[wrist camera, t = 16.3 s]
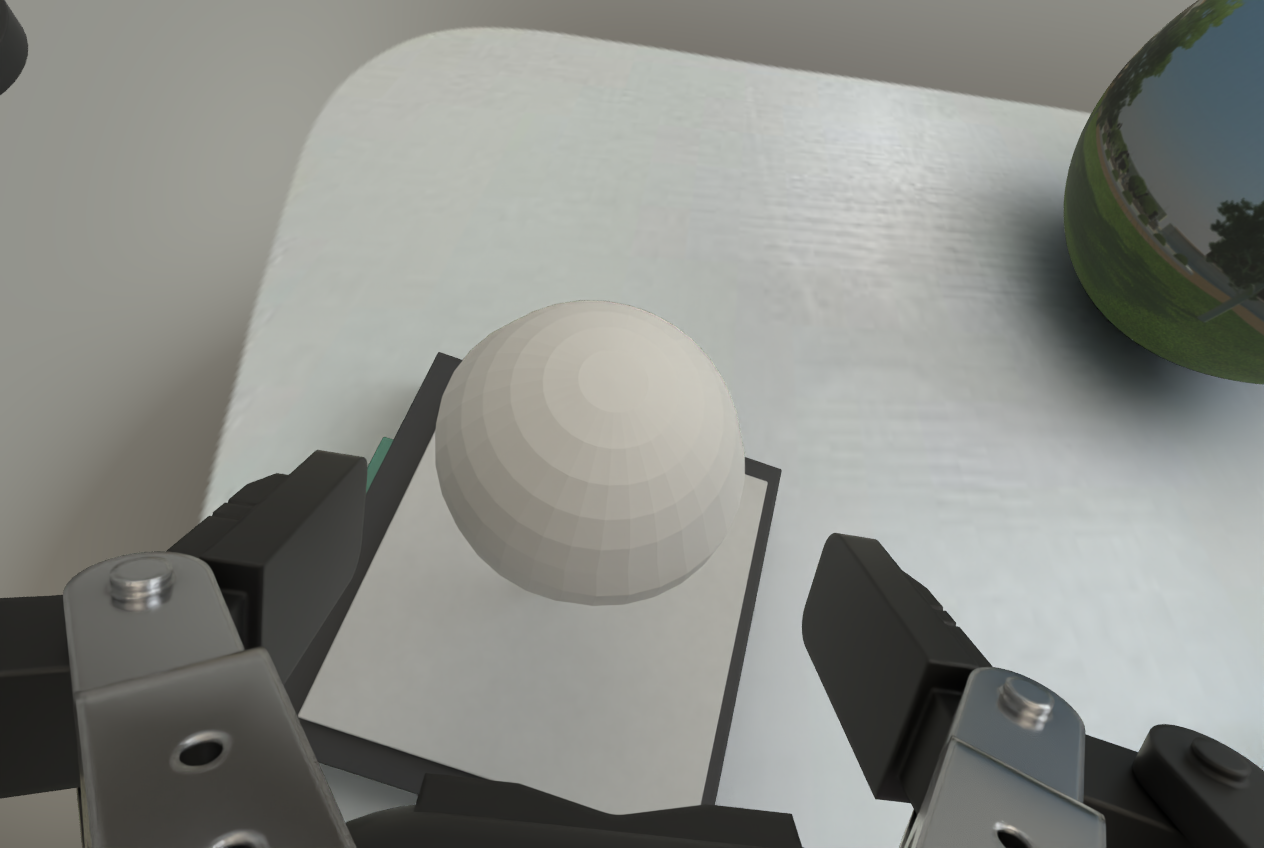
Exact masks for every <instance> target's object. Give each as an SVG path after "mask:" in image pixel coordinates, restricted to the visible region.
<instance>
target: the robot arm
mask: <svg viewBox="0 0 1264 848" xmlns="http://www.w3.org/2000/svg"><path fill="white" fill-rule="evenodd" d="M366 485H367V461H366V459H365V458H364V457H359V456H353V455H346V454H340V453H334V452H327V451H321V450H317V451H315V452H314V453H313V454H312V455H310V456H309V457H308V458H307V459H306V460H305V461H304V462H303V463H302V464H300V465H299V466H298V467H297V468H296V469H295V470H294V471H293V472H292V473H291V474H289V475H285V474H278V473H276V474H273V475H271V476H268V477H265V478H263V479H260V480H257V481H255V482H252V483H249V484H247V485H246V486H244V487H243V488H242V489H241V490H240V491H238V492H237V493H236V494H235V495H234V496H232V497H231V498H230V499H229V501H228V503H224V504H223V505H221V506H220V507H219V508H218V509H217V510H215V511H214V512H213V515H212V516H208V517H207V518H206V519H204V520H203V521H202V522H201V523H200V524H198V525H197V526H196V527H195V528H194V529H192V530H191V531H190V532H189V533H188V534H186V535H185V536H184V537H183V538H181V539H180V540H179V541H178V542H177V543H175V544H174V545H173V546H172V547H171V548H170V549H168V550H167V551H166V552H160V551H157V552H141V553H134V554H128V555H122V556H118V557H115V558H111V559H108V560H105V561H102V562H99V563H97V564H95V565H92V566H90V567H88V568H86V569H85V570H83V571H81V572H80V573H78V574H77V575H76V576H74V577H73V578H72V579H71V580H70V581H69V582H68V583H67V585H66V586H65V588H64V592H63V595H56V596H37V597H17V598H16V597H15V598H0V798H7V797H14V796H21V795H27V794H35V793H42V792H49V791H56V790H63V789H70V788H77V800H78V810H79V820H80V830H81V841H82V848H803V847H802V845H801V842H800V839H799V836H798V832H797V829H796V826H795V823H794V820H793V816H792V814H788V813H779V812H770V811H761V810H752V809H743V808H734V807H726V806H717V805H708V804H704V805H696V806H688V807H680V808H672V809H664V810H656V811H648V812H640V813H632V814H624V815H615V814H609V813H605V812H602V811H599V810H596V809H593V808H590V807H587V806H584V805H581V804H578V803H575V802H572V801H570V800H567V799H564V798H561V797H558V796H555V795H552V794H549V793H546V792H543V791H540V790H537V789H534V788H531V787H529V786H526V785H523V784H520V783H512V782H503V781H494V780H485V779H476V778H467V777H459V776H450V775H441V774H432V773H425V775H424V778H423V782H422V785H421V789H420V792H419V795H418V799H417V802H416V805H408V806H401V807H396V808H392V809H387V810H383V811H378V812H375V813H372V814H369V815H366V816H363V817H360V818H357V819H354V820H351V821H348V822H346V823H345V821H344V819H343V817H342V814H341V812H340V810H339V808H338V805H337V803H336V801H335V799H334V797H333V794H332V792H331V790H330V788H329V786H328V783H327V781H326V779H325V777H324V774H323V772H322V770H321V768H320V766H319V763H318V761H317V759H316V757H315V754H314V752H313V750H312V748H311V746H310V743H309V741H308V739H307V737H306V734H305V732H304V730H303V728H302V726H301V723H300V721H299V719H298V717H297V714H296V712H295V710H294V708H293V706H292V703H291V701H290V699H289V697H288V695H287V692H286V690H285V688H284V684H285V682H286V681H287V679H288V678H289V676H290V675H291V673H292V672H293V670H294V668H295V667H296V665H297V664H298V662H299V661H300V659H301V657H302V656H303V654H304V653H305V651H306V650H307V648H308V647H309V645H310V643H311V642H312V640H313V639H314V637H315V636H316V634H317V633H318V631H319V629H320V628H321V626H322V625H323V623H324V622H325V620H326V618H327V617H328V615H329V614H330V612H331V611H332V609H333V608H334V606H335V604H336V603H337V601H338V600H339V598H340V597H341V595H342V594H343V592H344V590H345V589H346V587H347V586H348V584H349V583H350V581H351V579H352V577H353V575H354V572H355V570H356V567H357V564H358V560H359V556H360V551H361V545H362V534H363V522H364V510H365V497H366ZM802 635H803V641H804V644H805V647H806V649H807V651H808V653H809V656H810V658H811V660H812V662H813V664H814V667H815V669H816V671H817V673H818V675H819V677H820V680H821V682H822V684H823V686H824V688H825V690H826V693H827V695H828V697H829V699H830V701H831V704H832V706H833V708H834V710H835V712H836V714H837V717H838V719H839V721H840V723H841V725H842V728H843V730H844V732H845V734H846V736H847V738H848V741H849V743H850V745H851V747H852V749H853V752H854V754H855V756H856V758H857V760H858V762H859V765H860V767H861V769H862V771H863V773H864V776H865V778H866V780H867V782H868V784H869V786H870V789H871V791H872V793H873V795H874V797H875V799H880V800H888V801H897V802H906V803H911V804H912V806H913V808H914V810H913V812H912V815H911V817H910V820H909V822H908V824H907V827H906V829H905V832H904V835H903V837H902V840H901V843H900V846H899V848H1264V771H1263V770H1262V769H1260V768H1259V767H1258V766H1257V765H1255V764H1254V763H1252V762H1251V761H1250V760H1248V759H1247V758H1245V757H1244V756H1242V755H1241V754H1239V753H1238V752H1236V751H1234V750H1233V749H1231V748H1229V747H1228V746H1226V745H1224V744H1222V743H1220V742H1218V741H1216V740H1214V739H1212V738H1210V737H1208V736H1206V735H1203V734H1201V733H1198V732H1196V731H1193V730H1190V729H1187V728H1183V727H1179V726H1175V725H1167V724H1162V725H1156V726H1154V727H1152V728H1151V729H1150V731H1149V733H1148V735H1147V737H1146V739H1145V741H1144V743H1143V744H1142V746H1141V748H1140V750H1139V752H1136V751H1133V750H1130V749H1127V748H1124V747H1121V746H1118V745H1115V744H1112V743H1109V742H1106V741H1103V740H1100V739H1097V738H1094V737H1091V736H1088V735H1085V726H1084V724H1083V721H1082V719H1081V718H1080V716H1079V715H1078V713H1077V712H1076V711H1075V710H1074V709H1073V708H1072V707H1071V706H1070V705H1069V704H1068V703H1067V702H1066V701H1065V700H1064V699H1062V698H1061V697H1060V696H1058V695H1057V694H1056V693H1054V692H1053V691H1051V690H1050V689H1048V688H1047V687H1045V686H1043V685H1042V684H1040V683H1038V682H1036V681H1034V680H1032V679H1030V678H1028V677H1026V676H1023V675H1021V674H1018V673H1015V672H1012V671H1009V670H1005V669H1001V668H995V667H992V665H991V664H990V663H989V662H988V661H987V659H986V658H985V657H984V656H983V655H982V653H981V652H980V651H979V650H978V649H977V647H976V646H975V645H974V644H973V643H972V641H971V640H970V639H969V638H968V637H967V635H966V634H965V633H964V632H963V631H962V629H961V628H960V627H956V622H955V621H954V620H953V619H952V618H951V616H950V615H949V614H948V613H947V612H946V611H943V607H942V606H941V604H940V603H939V602H938V601H937V600H936V598H935V597H934V596H933V595H932V594H931V592H930V591H929V590H928V589H927V588H926V587H924V586H923V585H922V584H920V583H919V582H918V581H916V580H915V579H913V578H912V577H911V576H909V575H908V574H907V573H905V572H904V571H902V570H901V568H900V567H899V566H898V565H897V563H896V562H895V561H894V560H893V559H892V557H891V556H890V555H889V554H888V552H887V551H886V550H885V549H884V547H883V546H882V545H881V544H880V542H878V541H877V540H876V539H870V538H864V537H858V536H851V535H845V534H839V533H833V534H831V535H830V536H829V537H828V539H827V540H826V543H825V545H824V548H823V551H822V554H821V557H820V560H819V563H818V567H817V570H816V573H815V576H814V579H813V582H812V586H811V589H810V592H809V595H808V598H807V602H806V605H805V608H804V612H803V619H802Z"/></svg>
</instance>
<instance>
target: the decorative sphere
mask: <svg viewBox="0 0 1264 848" xmlns="http://www.w3.org/2000/svg"><path fill="white" fill-rule="evenodd" d="M1064 229H1065V237H1066V243H1067V247H1068V251H1069V255H1070V258H1071V261H1072V264H1073V267H1074V269H1075V272H1076V274H1077V276H1078V278H1079V280H1080V282H1081V284H1082V286H1083V287H1084V289H1085V291H1086V292H1087V294H1088V296H1089V297H1090V298H1091V300H1092V301H1093V302H1094V304H1095V305H1096V306H1097V308H1098V309H1099V310H1100V311H1101V312H1102V314H1103V315H1104V316H1105V317H1106V318H1107V319H1108V320H1109V321H1110V322H1111V323H1112V324H1113V325H1114V326H1116V327H1117V328H1118V329H1119V330H1120V331H1121V332H1123V333H1124V334H1125V335H1126V336H1128V337H1129V338H1130V339H1132V340H1133V341H1135V342H1136V343H1138V344H1139V345H1141V346H1142V347H1144V348H1145V349H1147V350H1149V351H1151V352H1153V353H1154V354H1156V355H1158V356H1160V357H1162V358H1164V359H1166V360H1169V361H1171V362H1173V363H1176V364H1178V365H1180V366H1183V367H1186V368H1189V369H1192V370H1195V371H1198V372H1201V373H1204V374H1208V375H1212V376H1216V377H1220V378H1224V379H1229V380H1234V381H1240V382H1247V383H1255V384H1264V0H1198V1H1197V2H1195V3H1194V4H1192V5H1191V6H1190V7H1188V8H1187V9H1185V10H1184V11H1183V12H1182V13H1180V14H1179V15H1178V16H1176V17H1175V18H1174V19H1173V20H1172V21H1170V22H1169V23H1168V24H1167V25H1166V26H1165V27H1163V28H1162V29H1161V30H1160V31H1159V32H1158V33H1157V34H1155V35H1154V36H1153V37H1152V38H1151V39H1150V40H1149V41H1148V42H1147V43H1146V44H1145V45H1144V46H1143V47H1142V48H1141V49H1140V50H1139V51H1138V52H1137V53H1136V54H1135V55H1134V56H1133V58H1132V59H1131V60H1130V61H1129V62H1128V63H1127V64H1126V65H1125V67H1124V68H1123V69H1122V70H1121V71H1120V73H1119V74H1118V75H1117V76H1116V78H1115V79H1114V80H1113V81H1112V83H1111V84H1110V86H1109V87H1108V88H1107V90H1106V91H1105V93H1104V94H1103V96H1102V97H1101V99H1100V100H1099V102H1098V103H1097V105H1096V107H1095V108H1094V110H1093V112H1092V114H1091V115H1090V117H1089V119H1088V121H1087V123H1086V125H1085V127H1084V129H1083V131H1082V133H1081V136H1080V138H1079V141H1078V143H1077V145H1076V148H1075V151H1074V154H1073V157H1072V160H1071V164H1070V167H1069V171H1068V176H1067V181H1066V187H1065V195H1064Z"/></svg>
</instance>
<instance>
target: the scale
mask: <svg viewBox="0 0 1264 848" xmlns="http://www.w3.org/2000/svg"><path fill="white" fill-rule="evenodd" d="M462 361H463V360H461V359H458V358H455V357H452V356H449V355H446V354H443V353H440V352H438V354H437V356H436V358H435V360H434V362H433V364H432V366H431V368H430V370H429V372H428V374H427V375H426V377H425V379H424V381H423V383H422V385H421V387H420V389H419V391H418V393H417V395H416V397H415V399H414V401H413V403H412V405H411V407H410V409H409V411H408V413H407V415H406V417H405V419H404V420H403V422H402V424H401V426H400V428H399V430H398V432H397V434H396V436H395V438H394V440H392V439H390V438H387V437H383V439H382V441H381V443H380V444H379V446H378V448H377V450H376V452H375V454H374V456H373V458H372V460H371V462H370V464H369V466H368V467H367V485H366V497H365V510H364V522H363V534H362V545H361V551H360V556H359V560H358V564H357V567H356V570H355V572H354V575H353V577H352V579H351V581H350V583H349V584H348V586H347V587H346V589H345V590H344V592H343V594H342V595H341V597H340V598H339V600H338V601H337V603H336V604H335V606H334V608H333V609H332V611H331V612H330V614H329V615H328V617H327V618H326V620H325V622H324V623H323V625H322V626H321V628H320V629H319V631H318V633H317V634H316V636H315V637H314V639H313V640H312V642H311V643H310V645H309V647H308V648H307V650H306V651H305V653H304V654H303V656H302V657H301V659H300V661H299V662H298V664H297V665H296V667H295V668H294V670H293V672H292V673H291V675H290V676H289V678H288V679H287V681H286V682H285V684H284V688H285V690H286V692H287V695H288V697H289V699H290V701H291V703H292V706H293V708H294V710H295V712H296V714H297V717H298V719H299V721H300V723H301V726H302V728H303V730H304V732H305V734H306V737H307V739H308V741H309V743H310V746H311V748H312V750H313V752H314V754H315V757H316V759H317V761H318V762H319V763H322V764H325V765H329V766H332V767H335V768H338V769H341V770H344V771H347V772H350V773H353V774H356V775H359V776H362V777H366V778H369V779H372V780H375V781H378V782H381V783H384V784H387V785H390V786H393V787H396V788H400V789H403V790H406V791H409V792H412V793H415V794H418V795H419V792H420V789H421V785H422V782H423V778H424V775H425V773H432V774H441V775H450V776H459V777H467V778H476V779H485V780H494V781H503V782H512V783H520V784H523V785H526V786H529V787H531V788H534V789H537V790H540V791H543V792H546V793H549V794H552V795H555V796H558V797H561V798H564V799H567V800H570V801H572V802H575V803H578V804H581V805H584V806H587V807H590V808H593V809H596V810H599V811H602V812H605V813H609V814H615V815H624V814H632V813H640V812H648V811H656V810H664V809H672V808H680V807H688V806H696V805H704V804H708V805H715V801H716V796H717V791H718V786H719V781H720V776H721V771H722V766H723V761H724V756H725V751H726V746H727V741H728V736H729V731H730V726H731V721H732V716H733V711H734V706H735V701H736V696H737V691H738V686H739V681H740V676H741V671H742V666H743V661H744V656H745V651H746V646H747V641H748V636H749V631H750V626H751V621H752V616H753V611H754V606H755V601H756V596H757V591H758V586H759V581H760V576H761V571H762V566H763V561H764V556H765V551H766V546H767V541H768V536H769V531H770V526H771V521H772V516H773V511H774V506H775V501H776V496H777V491H778V486H779V481H780V476H781V469H778V468H775V467H772V466H769V465H767V464H764V463H761V462H758V461H755V460H752V459H749V458H746V457H745V482H744V487H743V492H742V496H741V501H740V506H739V509H738V511H737V513H736V515H735V517H734V520H733V522H732V524H731V526H730V528H729V531H728V533H727V534H726V536H725V538H724V539H723V541H722V542H721V544H720V545H719V546H718V548H717V549H716V550H715V552H714V553H713V554H712V555H711V557H710V558H709V559H708V561H707V562H706V563H705V565H704V566H702V567H701V568H700V569H699V570H697V571H696V572H695V573H694V574H693V575H691V576H690V577H689V578H688V579H686V580H685V581H684V582H683V583H682V584H680V585H678V586H676V587H674V588H672V589H670V590H668V591H666V592H664V593H662V594H660V595H658V596H656V597H652V598H649V599H645V600H641V601H637V602H633V603H629V604H625V605H604V606H589V605H583V604H576V603H570V602H562V601H555V600H552V599H549V598H546V597H543V596H540V595H537V594H534V593H531V592H528V591H526V590H524V589H522V588H521V587H519V586H517V585H515V584H514V583H512V582H510V581H509V580H507V579H505V578H504V577H502V576H500V575H499V574H498V573H497V572H496V571H494V570H493V569H492V568H491V567H490V566H489V565H488V564H487V563H486V562H484V561H483V560H482V559H481V558H480V557H479V556H478V555H477V554H476V552H475V551H474V550H473V548H472V547H471V545H470V544H469V543H468V541H467V540H466V539H465V537H464V536H463V534H462V533H461V532H460V530H459V529H458V527H457V525H456V524H455V522H454V520H453V517H452V515H451V513H450V511H449V509H448V507H447V504H446V502H445V500H444V498H443V496H442V492H441V488H440V483H439V479H438V474H437V470H436V466H435V433H436V422H437V417H438V413H439V408H440V404H441V399H442V396H443V394H444V392H445V389H446V387H447V385H448V383H449V381H450V379H451V377H452V375H453V372H454V371H455V370H456V368H457V367H458V366H459V365H460V363H461V362H462Z"/></svg>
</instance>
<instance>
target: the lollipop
mask: <svg viewBox="0 0 1264 848" xmlns="http://www.w3.org/2000/svg"><path fill="white" fill-rule="evenodd" d="M435 466H436V470H437V474H438V479H439V483H440V488H441V492H442V496H443V498H444V500H445V502H446V504H447V507H448V509H449V511H450V513H451V515H452V517H453V520H454V522H455V524H456V525H457V527H458V529H459V530H460V532H461V533H462V534H463V536H464V537H465V539H466V540H467V541H468V543H469V544H470V545H471V547H472V548H473V550H474V551H475V552H476V554H477V555H478V556H479V557H480V558H481V559H482V560H483V561H484V562H486V563H487V564H488V565H489V566H490V567H491V568H492V569H493V570H494V571H496V572H497V573H498V574H499V575H500V576H502V577H504V578H505V579H507V580H509V581H510V582H512V583H514V584H515V585H517V586H519V587H521V588H522V589H524V590H526V591H528V592H531V593H534V594H537V595H540V596H543V597H546V598H549V599H552V600H555V601H562V602H570V603H576V604H583V605H589V606H604V605H625V604H629V603H633V602H637V601H641V600H645V599H649V598H652V597H656V596H658V595H660V594H662V593H664V592H666V591H668V590H670V589H672V588H674V587H676V586H678V585H680V584H682V583H683V582H684V581H685V580H686V579H688V578H689V577H690V576H691V575H693V574H694V573H695V572H696V571H697V570H699V569H700V568H701V567H702V566H704V565H705V563H706V562H707V561H708V559H709V558H710V557H711V555H712V554H713V553H714V552H715V550H716V549H717V548H718V546H719V545H720V544H721V542H722V541H723V539H724V538H725V536H726V534H727V533H728V531H729V528H730V526H731V524H732V522H733V520H734V517H735V515H736V513H737V511H738V509H739V506H740V501H741V496H742V492H743V487H744V482H745V452H744V447H743V442H742V437H741V432H740V426H739V421H738V415H737V411H736V409H735V406H734V404H733V401H732V398H731V396H730V393H729V391H728V388H727V386H726V384H725V382H724V380H723V378H722V377H721V375H720V374H719V372H718V370H717V369H716V367H715V366H714V364H713V362H712V361H711V359H710V358H709V357H708V356H707V355H706V354H705V352H704V351H703V350H702V349H701V348H700V347H699V346H698V345H697V344H696V343H695V341H694V340H692V339H691V338H690V337H688V336H687V335H686V334H685V333H683V332H682V331H681V330H680V329H678V328H677V327H676V326H674V325H673V324H671V323H669V322H667V321H665V320H663V319H662V318H660V317H658V316H656V315H654V314H652V313H649V312H647V311H644V310H641V309H638V308H635V307H633V306H630V305H625V304H619V303H614V302H608V301H586V300H580V301H573V302H566V303H559V304H554V305H551V306H548V307H545V308H542V309H539V310H536V311H533V312H531V313H529V314H528V315H526V316H524V317H522V318H519V319H517V320H515V321H513V322H511V323H509V324H507V325H505V326H504V327H502V328H500V329H498V330H496V331H494V332H493V333H491V334H490V335H488V336H487V337H486V338H485V339H484V340H482V341H481V342H480V343H479V344H478V345H476V346H475V347H474V348H473V349H472V350H470V352H469V353H468V354H467V356H466V357H465V358H464V359H463V361H462V362H461V363H460V365H459V366H458V367H457V368H456V370H455V371H454V372H453V375H452V377H451V379H450V381H449V383H448V385H447V387H446V389H445V392H444V394H443V396H442V399H441V404H440V408H439V413H438V417H437V422H436V433H435Z"/></svg>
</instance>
